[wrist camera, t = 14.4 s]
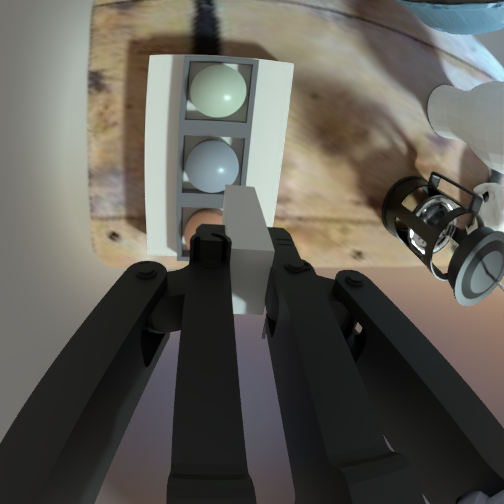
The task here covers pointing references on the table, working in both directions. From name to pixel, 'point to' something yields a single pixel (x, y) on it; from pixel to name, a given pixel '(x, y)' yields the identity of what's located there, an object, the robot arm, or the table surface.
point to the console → (205, 127)
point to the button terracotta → (201, 221)
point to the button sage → (218, 91)
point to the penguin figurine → (490, 207)
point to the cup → (472, 119)
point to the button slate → (212, 165)
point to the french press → (447, 237)
